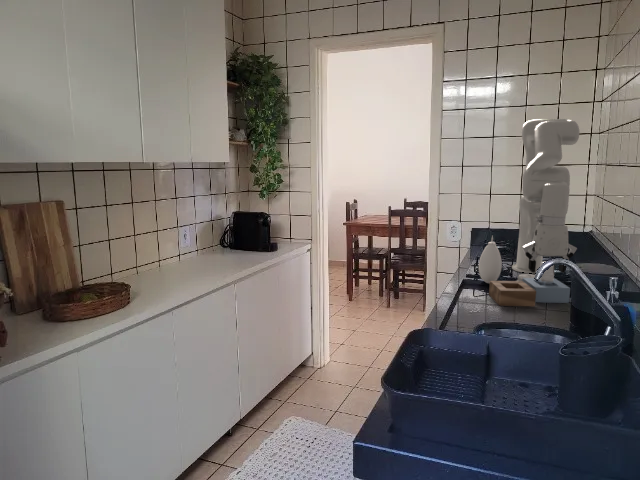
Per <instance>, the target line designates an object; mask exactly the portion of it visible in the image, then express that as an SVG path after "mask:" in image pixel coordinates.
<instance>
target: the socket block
mask: <svg viewBox="0 0 640 480" xmlns="http://www.w3.org/2000/svg"><path fill="white" fill-rule="evenodd" d="M522 281H523V282H524V283H526V284H527V285H528V286H530V287H531V288H533V289H534V290H535V291H536V299H535V303H553V304H554V303H557V304H559V303H562V304H565V303H566V304H569V303H570V295H571V287H569V286H568V285H566V284H565V283H563V282H561V281H560V280H558V279H557V278H554V280H553V286H548V285H539V284H538V283H539V280H538V281H536V280H535V279H534V278H523V280H522Z"/></svg>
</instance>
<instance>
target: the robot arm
mask: <svg viewBox="0 0 640 480" xmlns="http://www.w3.org/2000/svg"><path fill="white" fill-rule="evenodd" d="M521 137H522V144H523V146H524V150H525V154H526V156H525V157H526V158H525V169H524V171H523V174H522V180H521V181H522V195H521V196H520V199H519V230H518V231H519V232H518V240H517V241H518V243H517V253H516V263H515V264H512V265H511V269H512V270H513V271H515V272H519V273H522V272H524V273H523V274H529V273H532V274H533V275H536V274H535V273H536V271H537V269H538V268H539V267H540V263H541V261H543V259H544V258H543V257H560V259H561V258H563V259H568V260H570V259H571V258H572V257H573V256H574V254H575V252H576V251H577V250H578V248H577V247H576V246H574V245H572V244H571V243H569V230H568V229H569V228H568V225H566V218H567V217H566V216H567V213H568V211H569V202H570V201H569V200H570V199H569V198H570V189H571V188H570V185H571V173H570V170H569V168H567V167H566V166H562V165H558V164H560V162H561V161H562V158H563V152H562V151H563V150H562V146H565V145H566V146H573V145H576V144H577V143H578V141H579V138H580V127H579V124H578V122H577V121H576V120H573V119H571V118H570V119H569V118H536V119H531V120H527V121H526V122H524V123H523V125H522V129H521ZM566 270H567V266H564V265H559V264H558V271H559V272H561V273H563V274H565V273H566V272H565V271H566Z"/></svg>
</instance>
